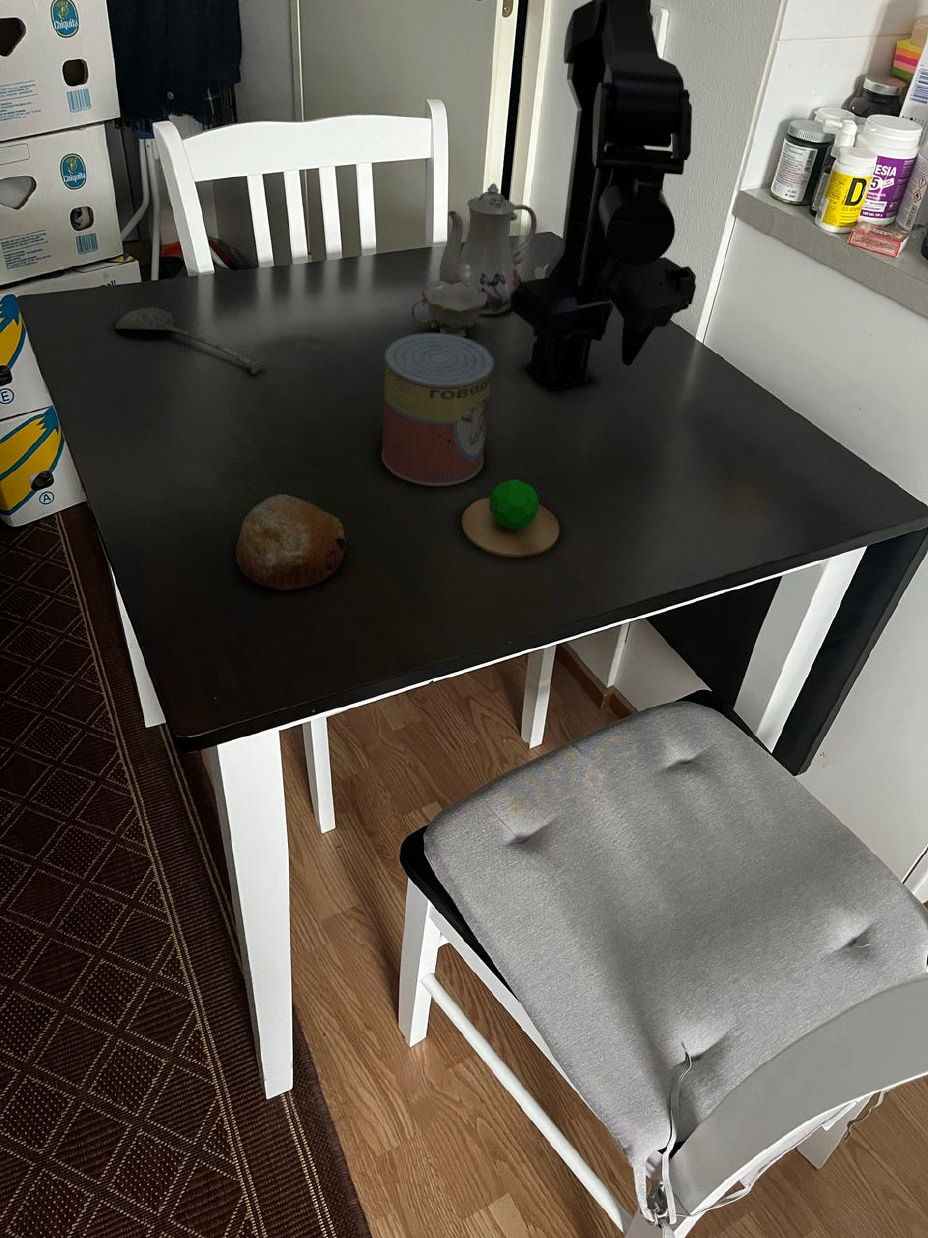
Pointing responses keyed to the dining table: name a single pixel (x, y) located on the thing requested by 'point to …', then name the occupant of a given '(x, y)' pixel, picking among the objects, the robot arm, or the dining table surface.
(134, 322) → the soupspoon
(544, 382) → the robot arm
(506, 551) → the coaster
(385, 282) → the dining table surface
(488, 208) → the chinaware
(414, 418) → the canned food
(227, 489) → the dining table surface
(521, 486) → the polyhedron
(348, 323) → the dining table surface
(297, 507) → the bread roll
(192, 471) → the dining table surface
